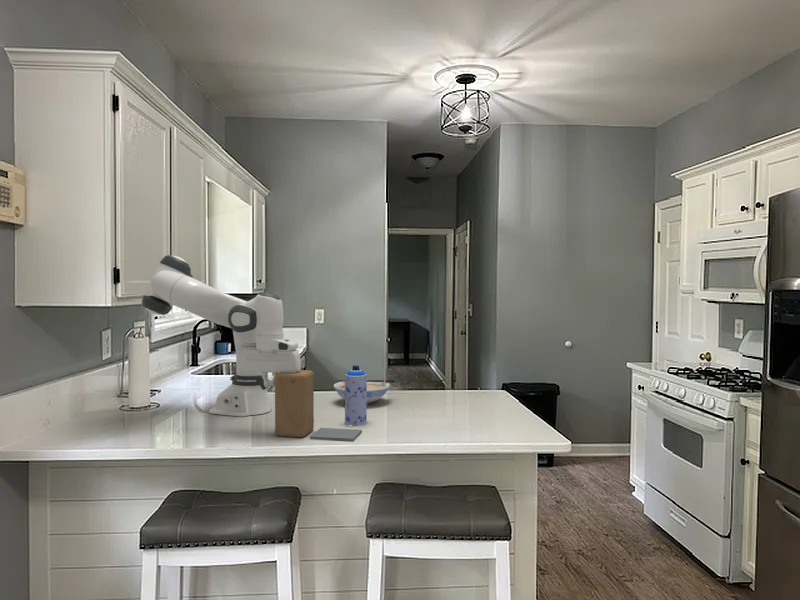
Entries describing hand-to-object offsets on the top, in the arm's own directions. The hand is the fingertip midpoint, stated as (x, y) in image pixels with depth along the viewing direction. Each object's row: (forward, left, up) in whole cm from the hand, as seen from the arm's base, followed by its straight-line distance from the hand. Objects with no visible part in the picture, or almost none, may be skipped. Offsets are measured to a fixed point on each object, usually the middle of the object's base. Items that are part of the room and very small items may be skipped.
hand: (270, 386), depth 190 cm
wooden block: (+8, 0, -15) cm, 17 cm away
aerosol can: (+24, +17, -15) cm, 33 cm away
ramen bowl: (+18, +50, -15) cm, 56 cm away
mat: (+22, 0, -15) cm, 27 cm away
